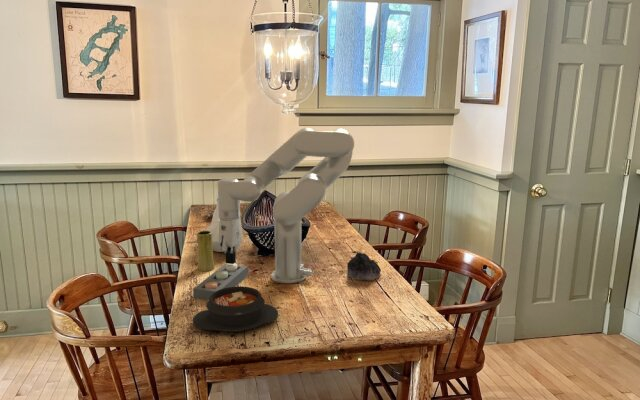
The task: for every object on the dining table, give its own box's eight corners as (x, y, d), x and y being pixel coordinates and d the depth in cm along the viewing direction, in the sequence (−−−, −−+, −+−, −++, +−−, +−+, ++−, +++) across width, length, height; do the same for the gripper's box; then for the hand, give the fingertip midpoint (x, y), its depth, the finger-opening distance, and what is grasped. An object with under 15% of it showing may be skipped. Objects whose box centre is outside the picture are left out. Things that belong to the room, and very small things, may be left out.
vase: (210, 272, 189) (208, 235, 185) (195, 270, 190) (193, 234, 186) (216, 266, 194) (215, 230, 191) (202, 265, 196) (200, 229, 192)
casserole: (193, 343, 138) (192, 314, 136) (192, 313, 155) (190, 287, 153) (284, 331, 144) (283, 304, 142) (272, 304, 162) (272, 279, 160)
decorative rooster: (243, 244, 200) (249, 188, 211) (203, 239, 196) (211, 182, 207) (235, 263, 222) (241, 211, 232) (199, 258, 218) (206, 206, 229)
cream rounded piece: (239, 270, 184) (239, 263, 183) (234, 274, 180) (234, 267, 179) (229, 269, 185) (228, 262, 184) (224, 273, 181) (224, 266, 180)
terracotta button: (219, 289, 169) (219, 282, 168) (214, 294, 165) (214, 287, 165) (209, 288, 170) (208, 281, 169) (203, 293, 166) (202, 285, 166)
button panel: (248, 275, 186) (247, 266, 185) (218, 301, 163) (218, 291, 162) (225, 272, 188) (225, 263, 187) (193, 298, 165) (193, 288, 165)
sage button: (229, 278, 176) (229, 271, 176) (224, 282, 173) (224, 275, 172) (219, 277, 177) (219, 270, 177) (214, 281, 174) (213, 274, 173)
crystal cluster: (372, 268, 195) (370, 243, 193) (388, 278, 182) (386, 251, 180) (340, 275, 191) (338, 250, 189) (354, 285, 178) (352, 258, 176)
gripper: (230, 219, 170) (231, 271, 174) (247, 209, 184) (248, 257, 188) (209, 218, 171) (211, 268, 176) (228, 207, 185) (229, 255, 190)
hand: (230, 262), depth 182 cm, fingers closed
